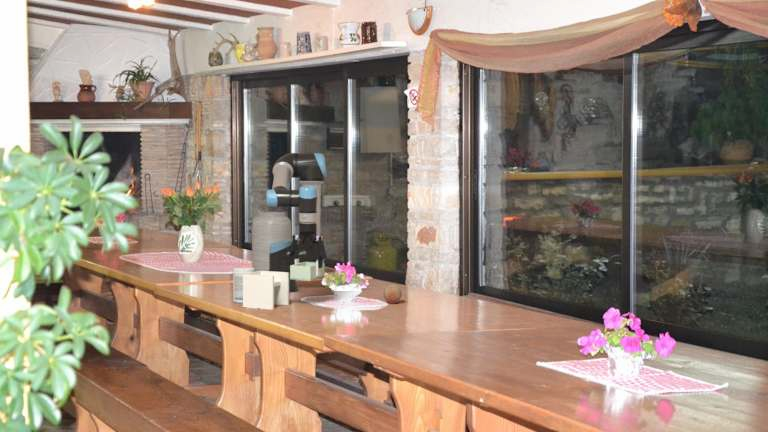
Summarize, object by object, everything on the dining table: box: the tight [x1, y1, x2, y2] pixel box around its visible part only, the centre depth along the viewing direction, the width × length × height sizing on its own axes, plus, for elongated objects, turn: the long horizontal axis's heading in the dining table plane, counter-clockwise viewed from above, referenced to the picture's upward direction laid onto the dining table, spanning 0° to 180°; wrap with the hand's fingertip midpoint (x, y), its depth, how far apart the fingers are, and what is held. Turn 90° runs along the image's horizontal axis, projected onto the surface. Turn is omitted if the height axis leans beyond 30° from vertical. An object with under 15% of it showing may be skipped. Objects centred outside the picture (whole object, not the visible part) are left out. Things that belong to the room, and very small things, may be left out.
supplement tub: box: [232, 267, 255, 304], centre depth 456 cm, size 10×10×15 cm
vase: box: [251, 211, 292, 272], centre depth 547 cm, size 20×20×34 cm
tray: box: [290, 262, 326, 282], centre depth 452 cm, size 10×14×6 cm
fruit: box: [383, 284, 403, 305], centre depth 459 cm, size 8×8×8 cm
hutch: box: [242, 271, 290, 310], centre depth 446 cm, size 15×14×14 cm
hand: (307, 274), depth 452 cm, fingers closed on tray, 9 cm apart
